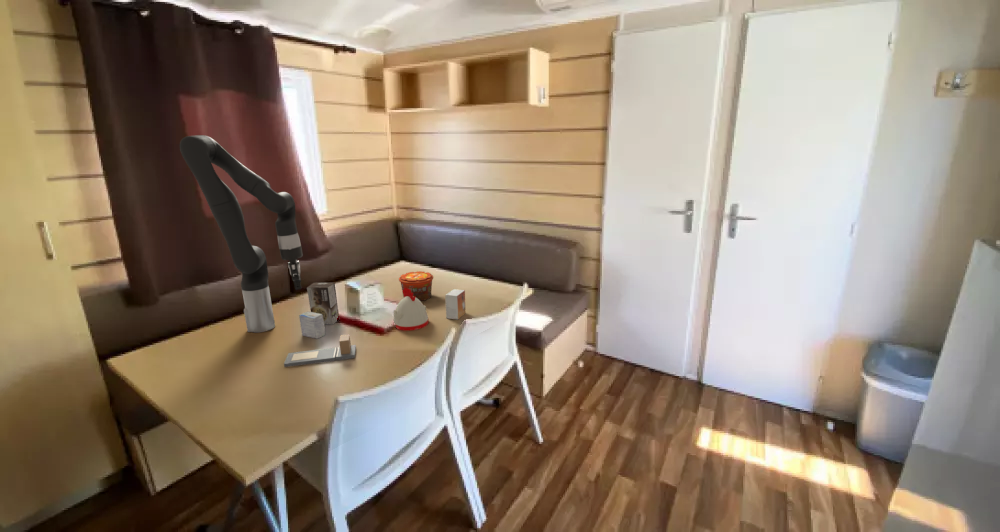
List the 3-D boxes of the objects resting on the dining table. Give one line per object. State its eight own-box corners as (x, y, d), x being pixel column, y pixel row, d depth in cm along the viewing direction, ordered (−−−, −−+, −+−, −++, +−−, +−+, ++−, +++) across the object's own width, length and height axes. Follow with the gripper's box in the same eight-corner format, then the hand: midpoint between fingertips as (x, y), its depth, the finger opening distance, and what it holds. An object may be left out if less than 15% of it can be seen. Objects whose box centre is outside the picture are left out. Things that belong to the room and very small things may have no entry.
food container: (431, 303, 201) (430, 280, 198) (396, 303, 201) (395, 281, 198) (436, 291, 216) (435, 270, 214) (404, 291, 217) (402, 270, 214)
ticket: (284, 367, 145) (283, 363, 145) (288, 356, 153) (288, 352, 152) (335, 360, 149) (335, 357, 149) (337, 350, 157) (337, 346, 156)
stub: (336, 360, 149) (334, 343, 147) (338, 349, 157) (336, 333, 155) (354, 358, 151) (352, 341, 149) (355, 347, 158) (354, 331, 156)
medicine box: (325, 334, 169) (323, 313, 167) (316, 339, 165) (313, 318, 163) (311, 331, 173) (308, 310, 170) (301, 335, 169) (298, 314, 166)
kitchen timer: (415, 314, 188) (413, 281, 184) (435, 323, 179) (433, 288, 175) (387, 323, 179) (384, 289, 175) (405, 333, 170) (403, 297, 165)
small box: (458, 320, 182) (457, 296, 179) (445, 318, 184) (444, 294, 181) (466, 313, 189) (465, 290, 186) (454, 311, 191) (453, 288, 188)
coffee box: (340, 318, 184) (335, 282, 180) (332, 324, 178) (328, 287, 174) (319, 318, 185) (314, 281, 181) (311, 324, 179) (306, 286, 175)
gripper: (279, 243, 171) (288, 282, 176) (278, 251, 159) (287, 293, 163) (300, 240, 174) (308, 279, 179) (300, 248, 161) (309, 289, 166)
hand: (298, 285), depth 171 cm, fingers open, 8 cm apart
